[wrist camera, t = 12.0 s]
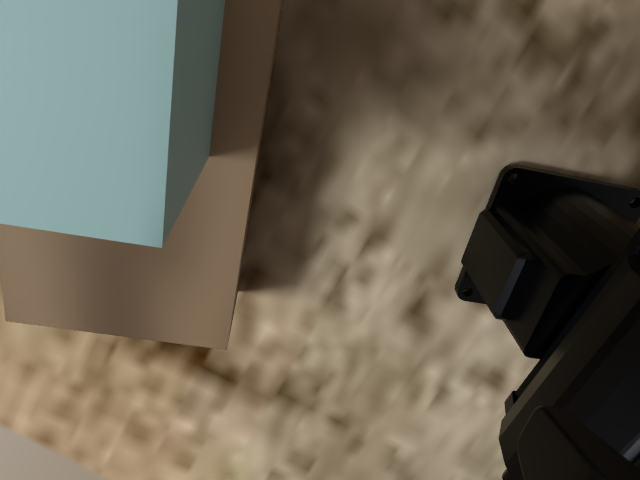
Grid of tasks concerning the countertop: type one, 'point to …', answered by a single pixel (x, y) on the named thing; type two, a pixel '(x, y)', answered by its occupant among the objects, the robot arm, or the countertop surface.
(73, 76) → the block
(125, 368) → the countertop surface
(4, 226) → the walnut plinth
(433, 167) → the countertop surface
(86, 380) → the countertop surface
